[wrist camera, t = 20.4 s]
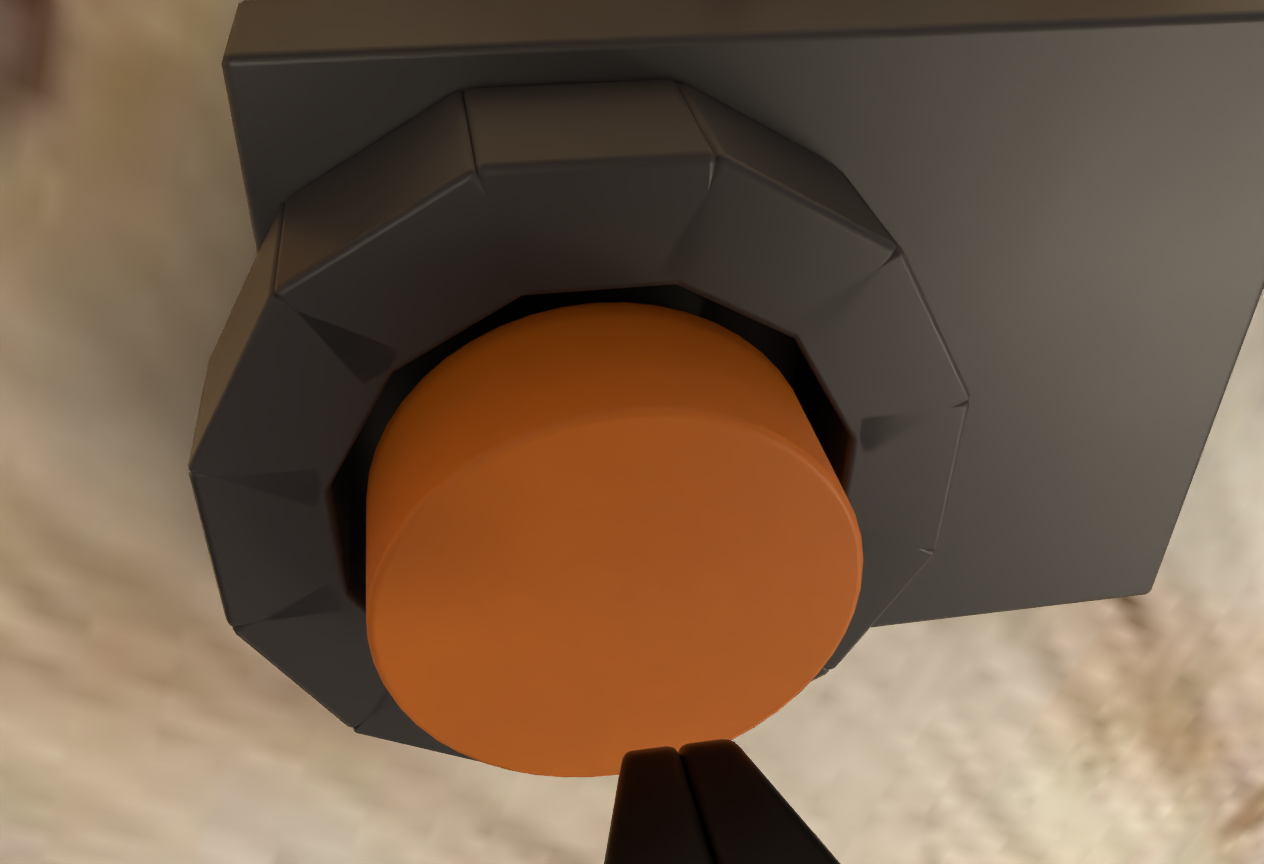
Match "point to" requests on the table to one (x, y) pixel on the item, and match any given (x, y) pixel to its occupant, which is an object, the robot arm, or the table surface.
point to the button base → (747, 267)
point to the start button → (603, 541)
